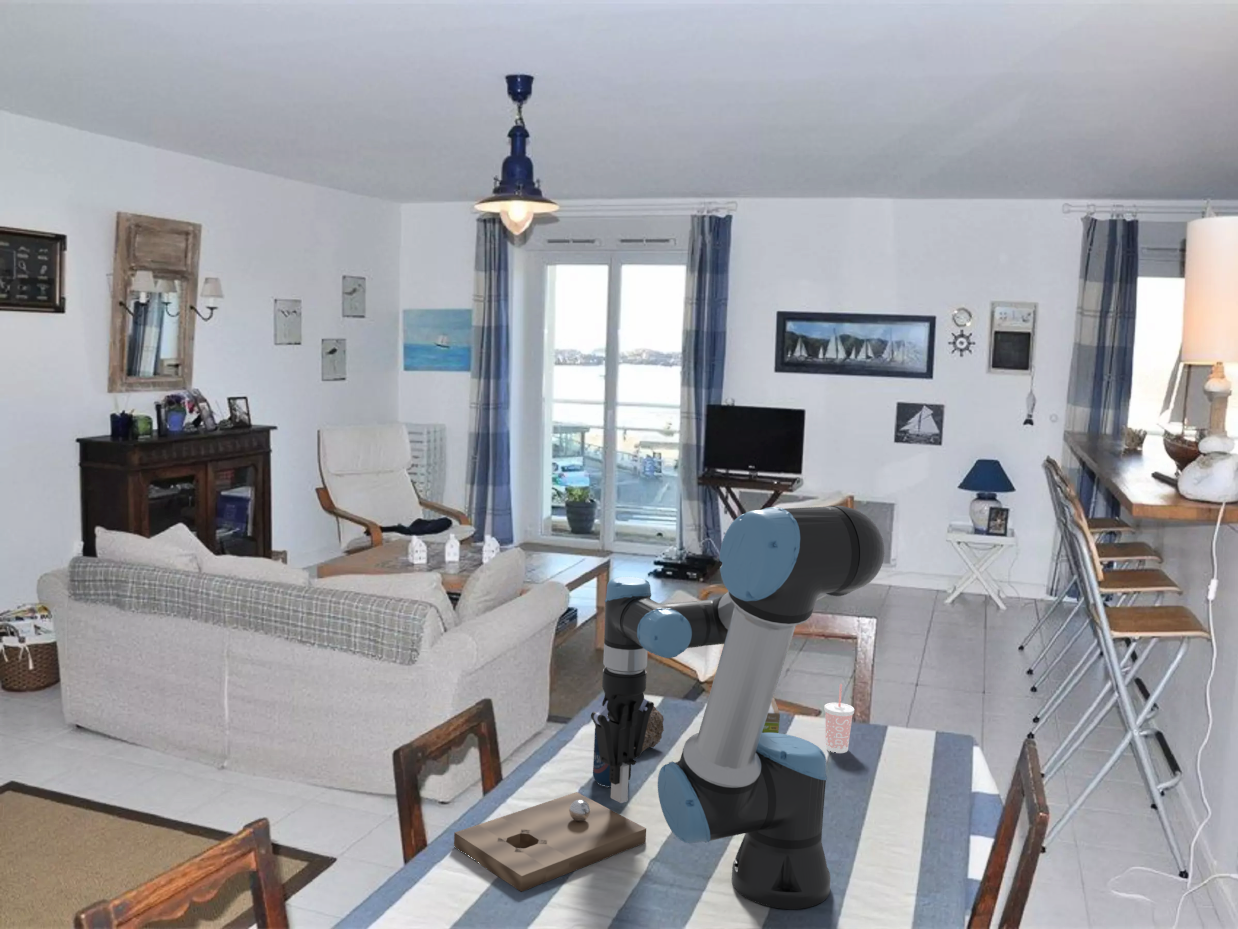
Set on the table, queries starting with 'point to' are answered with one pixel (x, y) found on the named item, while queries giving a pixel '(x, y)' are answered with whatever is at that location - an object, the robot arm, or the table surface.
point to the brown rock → (653, 729)
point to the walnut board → (548, 841)
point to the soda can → (600, 766)
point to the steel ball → (579, 810)
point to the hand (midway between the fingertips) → (619, 799)
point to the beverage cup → (838, 725)
